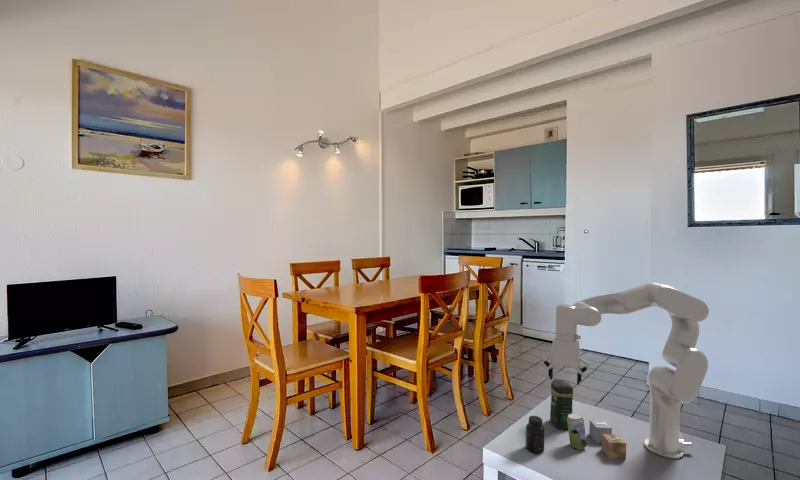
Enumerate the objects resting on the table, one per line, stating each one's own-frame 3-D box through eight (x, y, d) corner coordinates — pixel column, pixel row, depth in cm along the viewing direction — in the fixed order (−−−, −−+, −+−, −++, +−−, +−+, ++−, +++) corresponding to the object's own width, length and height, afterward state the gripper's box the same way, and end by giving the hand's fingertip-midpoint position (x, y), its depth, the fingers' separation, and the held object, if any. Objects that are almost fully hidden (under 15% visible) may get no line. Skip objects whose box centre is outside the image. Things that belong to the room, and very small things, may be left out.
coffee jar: (575, 430, 161) (576, 386, 161) (556, 430, 161) (557, 386, 161) (565, 419, 171) (566, 377, 171) (547, 418, 171) (548, 377, 171)
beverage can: (588, 452, 145) (589, 420, 145) (568, 449, 147) (569, 418, 147) (584, 443, 152) (585, 412, 151) (564, 440, 153) (565, 410, 153)
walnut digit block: (617, 450, 147) (618, 434, 147) (625, 459, 141) (626, 442, 141) (601, 449, 148) (602, 433, 147) (609, 458, 142) (609, 441, 141)
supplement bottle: (521, 445, 149) (522, 414, 149) (537, 443, 150) (538, 413, 150) (531, 455, 142) (532, 423, 142) (548, 453, 144) (548, 422, 143)
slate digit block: (604, 434, 158) (604, 420, 158) (611, 443, 152) (611, 427, 152) (589, 434, 159) (589, 419, 158) (595, 442, 153) (596, 426, 152)
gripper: (590, 337, 148) (589, 381, 149) (543, 331, 156) (542, 373, 157) (590, 342, 142) (589, 388, 142) (540, 336, 150) (539, 379, 150)
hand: (564, 380), depth 149 cm, fingers open, 9 cm apart
